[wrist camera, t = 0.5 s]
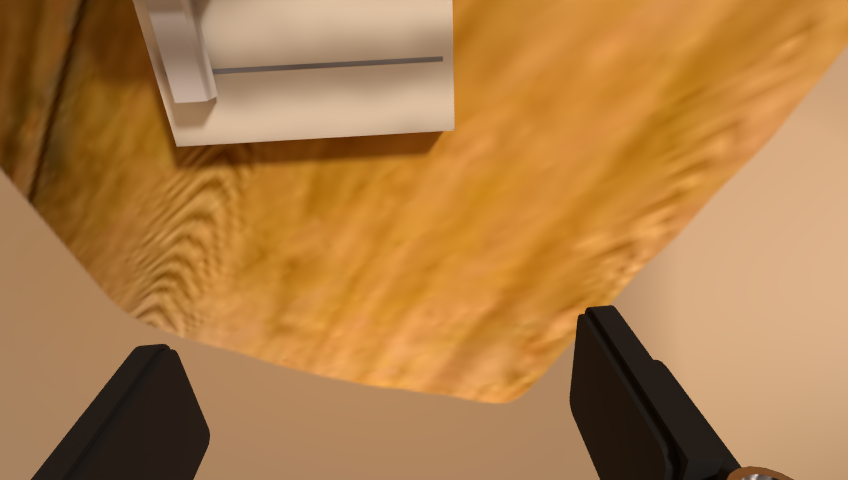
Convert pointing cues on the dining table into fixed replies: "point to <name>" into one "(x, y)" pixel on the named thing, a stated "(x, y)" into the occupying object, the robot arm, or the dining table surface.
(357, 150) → the dining table surface
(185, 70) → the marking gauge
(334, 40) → the birch plank
